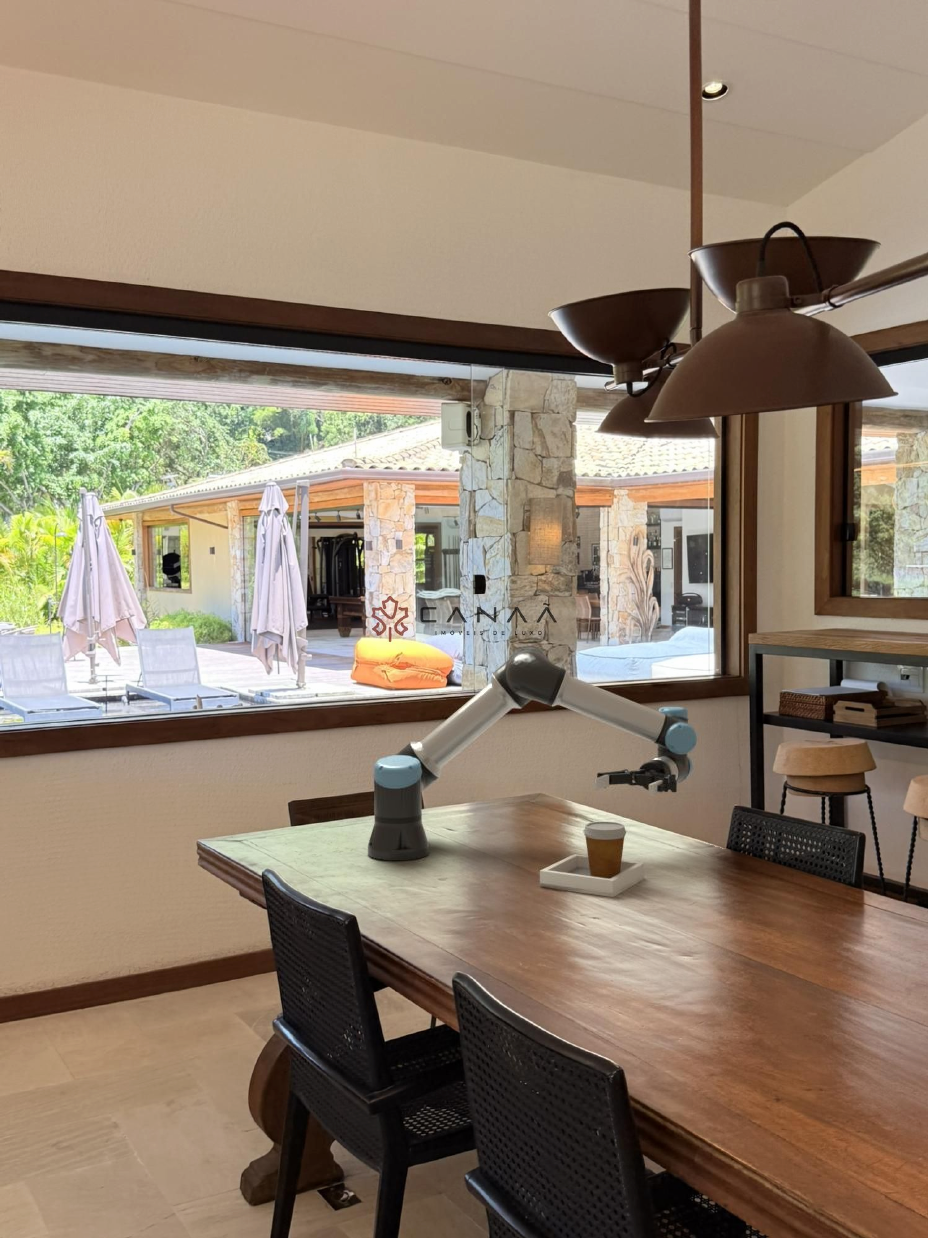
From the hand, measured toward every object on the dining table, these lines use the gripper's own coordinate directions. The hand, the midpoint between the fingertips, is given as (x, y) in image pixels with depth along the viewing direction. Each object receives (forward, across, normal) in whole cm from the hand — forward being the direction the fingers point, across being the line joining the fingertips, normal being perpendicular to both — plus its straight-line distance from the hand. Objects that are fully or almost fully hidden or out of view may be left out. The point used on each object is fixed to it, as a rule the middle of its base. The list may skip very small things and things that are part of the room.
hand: (622, 787), depth 268 cm
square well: (+14, +1, -19) cm, 24 cm away
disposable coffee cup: (+13, -2, -18) cm, 23 cm away
